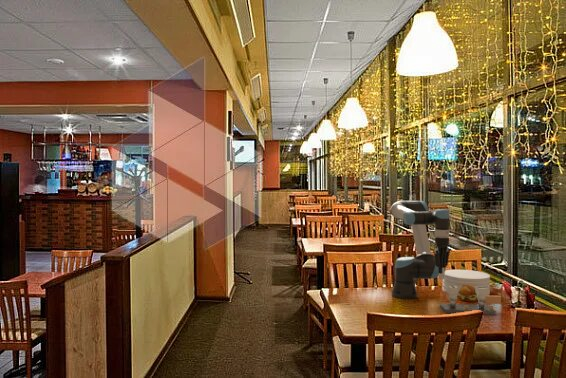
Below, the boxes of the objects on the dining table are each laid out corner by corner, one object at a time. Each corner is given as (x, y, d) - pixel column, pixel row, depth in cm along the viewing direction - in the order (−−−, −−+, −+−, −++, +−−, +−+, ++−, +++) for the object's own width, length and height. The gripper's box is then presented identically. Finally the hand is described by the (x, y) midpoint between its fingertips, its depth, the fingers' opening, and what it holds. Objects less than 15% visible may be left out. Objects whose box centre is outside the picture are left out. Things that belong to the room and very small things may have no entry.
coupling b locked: (478, 303, 248) (478, 287, 248) (475, 301, 253) (475, 286, 253) (501, 304, 247) (502, 288, 247) (498, 302, 252) (498, 286, 251)
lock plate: (445, 313, 246) (445, 302, 246) (439, 306, 258) (439, 296, 258) (495, 314, 244) (495, 303, 244) (487, 308, 256) (487, 297, 256)
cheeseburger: (480, 299, 274) (479, 284, 272) (473, 307, 267) (472, 291, 265) (464, 296, 281) (463, 280, 279) (456, 303, 274) (455, 288, 272)
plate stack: (486, 299, 275) (486, 280, 274) (438, 293, 289) (438, 275, 289) (492, 290, 298) (492, 272, 298) (447, 284, 313) (448, 267, 313)
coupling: (458, 303, 249) (458, 287, 249) (449, 303, 250) (449, 287, 250) (451, 297, 261) (452, 282, 261) (443, 297, 262) (444, 282, 262)
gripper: (440, 238, 250) (440, 281, 251) (455, 236, 258) (454, 278, 258) (429, 237, 256) (428, 279, 257) (443, 235, 264) (443, 276, 264)
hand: (441, 278), depth 257 cm, fingers closed
